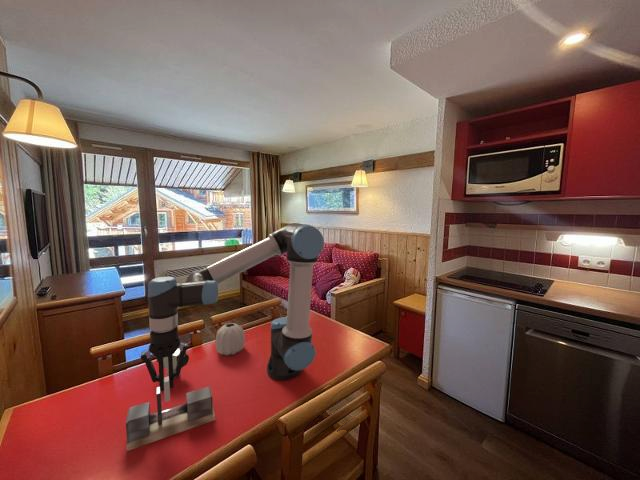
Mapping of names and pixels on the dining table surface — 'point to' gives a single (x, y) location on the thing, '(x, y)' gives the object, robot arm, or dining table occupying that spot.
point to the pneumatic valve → (175, 361)
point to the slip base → (144, 433)
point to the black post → (165, 411)
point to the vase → (230, 339)
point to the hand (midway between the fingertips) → (167, 398)
